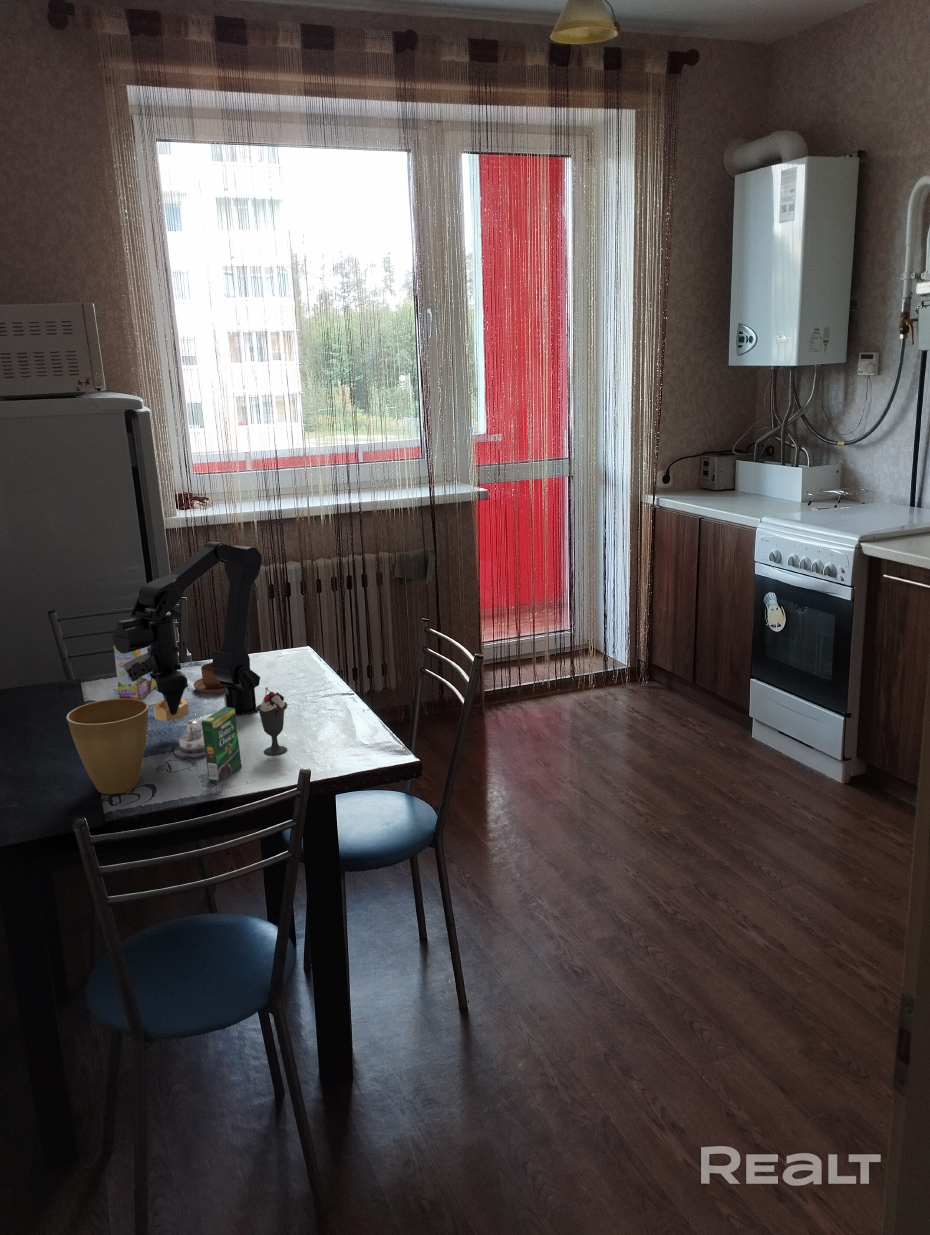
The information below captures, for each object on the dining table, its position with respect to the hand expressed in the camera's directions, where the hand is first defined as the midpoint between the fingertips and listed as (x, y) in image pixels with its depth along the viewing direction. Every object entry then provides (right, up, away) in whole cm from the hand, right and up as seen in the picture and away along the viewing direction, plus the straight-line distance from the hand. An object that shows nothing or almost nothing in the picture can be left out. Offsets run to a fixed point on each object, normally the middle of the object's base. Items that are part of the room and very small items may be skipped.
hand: (171, 709), depth 212 cm
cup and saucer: (+2, +2, +34) cm, 34 cm away
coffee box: (+17, -12, -19) cm, 28 cm away
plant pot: (-4, -13, -22) cm, 26 cm away
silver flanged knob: (+7, -8, -6) cm, 12 cm away
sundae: (+25, -8, -8) cm, 27 cm away
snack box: (-18, +1, +36) cm, 40 cm away
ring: (0, -1, 0) cm, 1 cm away
